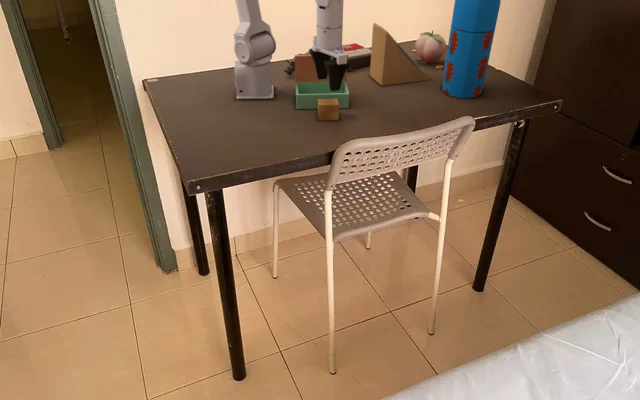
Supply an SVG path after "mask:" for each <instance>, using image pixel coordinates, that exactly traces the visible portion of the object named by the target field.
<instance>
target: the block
mask: <svg viewBox="0 0 640 400" xmlns="http://www.w3.org/2000/svg"><path fill="white" fill-rule="evenodd" d="M339 113H340V108H339V103H338V99H318V109H317V118H318V121H339V117H340V116H339Z"/></svg>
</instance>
